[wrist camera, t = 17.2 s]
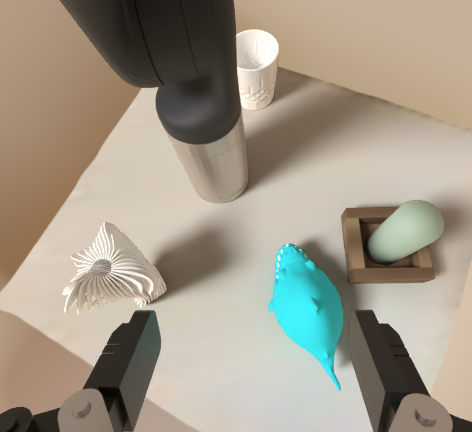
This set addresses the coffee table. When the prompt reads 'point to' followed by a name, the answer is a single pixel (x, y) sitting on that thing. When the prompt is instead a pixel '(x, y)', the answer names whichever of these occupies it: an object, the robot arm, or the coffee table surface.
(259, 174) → the coffee table surface
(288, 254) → the toy shark
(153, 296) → the shell sculpture
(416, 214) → the post
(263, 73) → the white cup
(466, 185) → the coffee table surface
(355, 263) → the socket base
